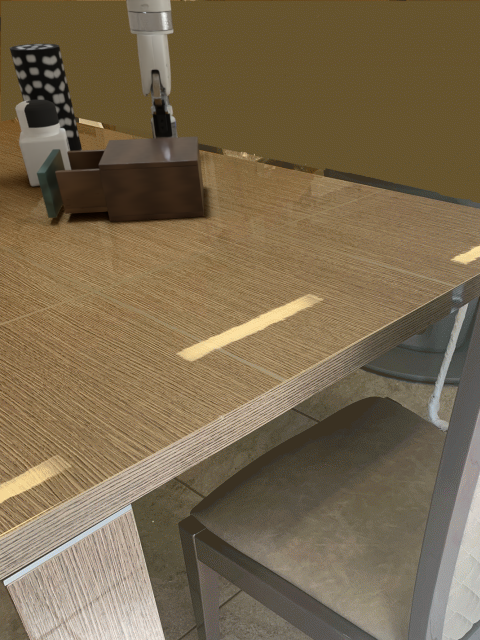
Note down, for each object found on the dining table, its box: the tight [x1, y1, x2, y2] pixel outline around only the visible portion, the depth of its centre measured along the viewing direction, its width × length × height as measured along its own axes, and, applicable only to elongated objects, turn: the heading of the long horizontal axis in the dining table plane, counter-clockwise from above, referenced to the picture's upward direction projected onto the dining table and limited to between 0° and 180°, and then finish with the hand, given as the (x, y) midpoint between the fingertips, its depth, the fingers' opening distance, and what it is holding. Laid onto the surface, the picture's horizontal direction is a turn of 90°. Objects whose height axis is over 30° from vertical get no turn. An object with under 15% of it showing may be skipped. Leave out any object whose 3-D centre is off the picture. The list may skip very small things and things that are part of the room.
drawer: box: [37, 148, 108, 219], centre depth 103 cm, size 15×13×7 cm
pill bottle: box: [150, 104, 178, 138], centre depth 124 cm, size 5×5×8 cm
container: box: [14, 100, 71, 187], centre depth 114 cm, size 8×8×13 cm
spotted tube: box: [9, 43, 83, 151], centre depth 120 cm, size 8×8×20 cm
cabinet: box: [98, 136, 205, 223], centre depth 104 cm, size 15×15×9 cm
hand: (164, 132), depth 125 cm, fingers closed on pill bottle, 4 cm apart
